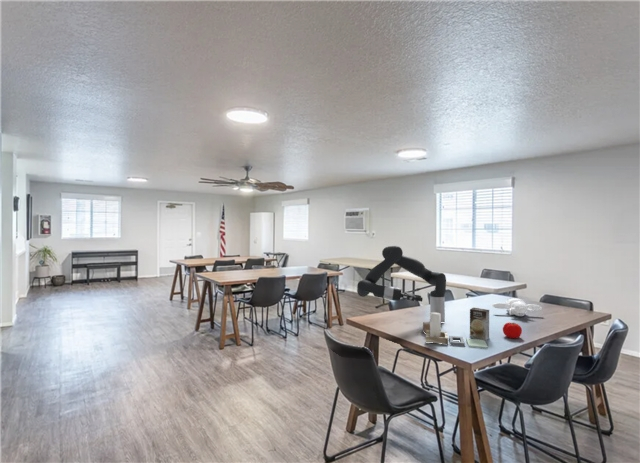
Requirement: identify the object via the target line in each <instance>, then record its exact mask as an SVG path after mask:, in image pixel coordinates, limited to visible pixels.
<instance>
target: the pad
mask: <svg viewBox="0 0 640 463" xmlns="http://www.w3.org/2000/svg"><path fill="white" fill-rule="evenodd" d="M466 343H467V345H468V347H470V348H480V349H489V348H488V347H489V346H488V344H487V343H486V340H482V339H477V338H466Z"/></svg>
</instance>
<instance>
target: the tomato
mask: <svg viewBox="0 0 640 463" xmlns="http://www.w3.org/2000/svg"><path fill="white" fill-rule="evenodd" d="M502 333H503V334H504V336H506V337H507V338H510V339H518V338H520V337H521V335H522V333H523V330H522V327H521V325H520V324H518V323H516V322H506V323H505V324H503V326H502Z"/></svg>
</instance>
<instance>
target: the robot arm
mask: <svg viewBox="0 0 640 463" xmlns="http://www.w3.org/2000/svg"><path fill="white" fill-rule="evenodd" d="M381 255H382V257H383V259H384V260H382V261H381V262H379V263H378V264H376V265H375V266H374V267H373V268H371V270H369V272H368V273H367V274H366V275H365V279H364V280H360V281H358V283H357V285H356V286H357V287H356V292H357V294H358V296H359V297H362V298H365V297H367V296H368V295H370V294H372V295H373V297H376V298H381V299H385V300H387V301H388V300H389V301H394V302H400V301H401V299H403V300H405V301H412V302H423V297H422V296H421V295H419V294H414V293H413V292H412V293H411V292H407V291H402V287H396V286H392V285H391V286H389V285H383V284H382V285H380V284H377V283H378V281H379V280H380V279H381V278H382V277H383V275H385V273H387V271H389V270H390V269H391V268H392V266H393V267H394V265H396V266H398V267H400V268H401V269H404V270H406V271H407V272H408V273H410V274H413V275H414V276H416V277H418V278H421V279H422V280H423V281H425V282H426V283H427V284H429V285H431V286H433V287H434V290H432V291H430V293H429V305H430V307H429V308H430V309H429V311H430V312H429V314H430V313H431V312H436V313H440V314H441V322H445V319H446V318H445V316H446V314H445V312H446V309H445V308H446V304H445V303H446V302H445V301H446V300H445V294H446V291H447V289H446V288H447V277H446V274H445V273H443V272H437V271H432V270H430V269H427V268H426V267H425V265H424V263H422V262H421V261H420V260H418V259H416V258H414V257H411V256H407V255H403V249H402V248H401V246H398V245H391V246H386V247H384V248H383V249H382V253H381ZM445 323H446V322H445Z"/></svg>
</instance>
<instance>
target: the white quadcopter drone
mask: <svg viewBox="0 0 640 463" xmlns="http://www.w3.org/2000/svg"><path fill="white" fill-rule="evenodd" d="M492 307H493V308H494V309H497V310H498V309H499V310H507V311H508V312H509V313H508V314H509V316H514V315H515V316H517V317H523V316H525V315H526V314H525V313H527V312H533V311H541V310H542V309H543V308H542V306H541V305H538V304H530V303H529V304H527V303H526V302H525V301H524V300H523V299H520V298H516V297H512V298H509V299H507V300H506V301H505V302H495V303H493V304H492Z"/></svg>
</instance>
